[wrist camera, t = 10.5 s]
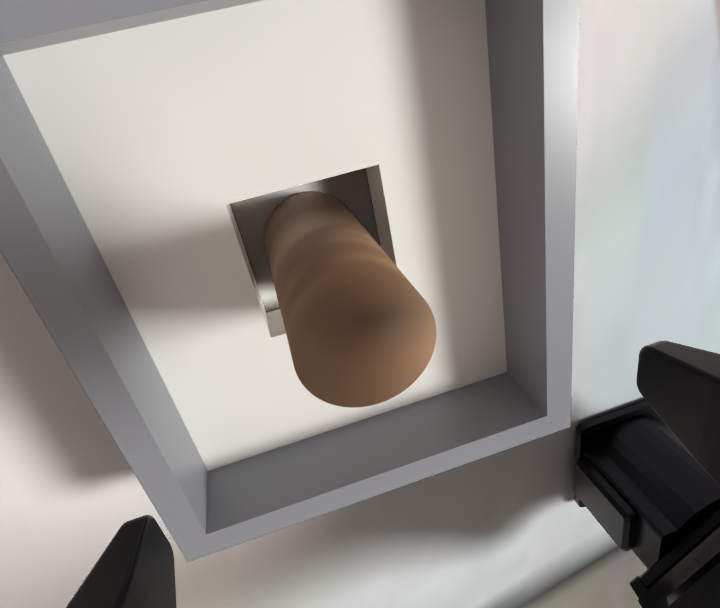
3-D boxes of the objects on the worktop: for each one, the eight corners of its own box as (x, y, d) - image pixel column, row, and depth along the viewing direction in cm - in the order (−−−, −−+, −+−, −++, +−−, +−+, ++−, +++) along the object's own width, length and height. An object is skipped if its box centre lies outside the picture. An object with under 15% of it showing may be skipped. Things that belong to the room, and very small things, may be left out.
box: (479, -80, 15) (582, -133, 11) (506, 358, 24) (570, 426, 19) (-28, 23, 13) (-146, 8, 9) (194, 461, 22) (187, 562, 17)
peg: (346, 180, 18) (426, 259, 11) (364, 266, 20) (443, 382, 13) (252, 205, 17) (273, 304, 11) (278, 291, 19) (312, 425, 12)
